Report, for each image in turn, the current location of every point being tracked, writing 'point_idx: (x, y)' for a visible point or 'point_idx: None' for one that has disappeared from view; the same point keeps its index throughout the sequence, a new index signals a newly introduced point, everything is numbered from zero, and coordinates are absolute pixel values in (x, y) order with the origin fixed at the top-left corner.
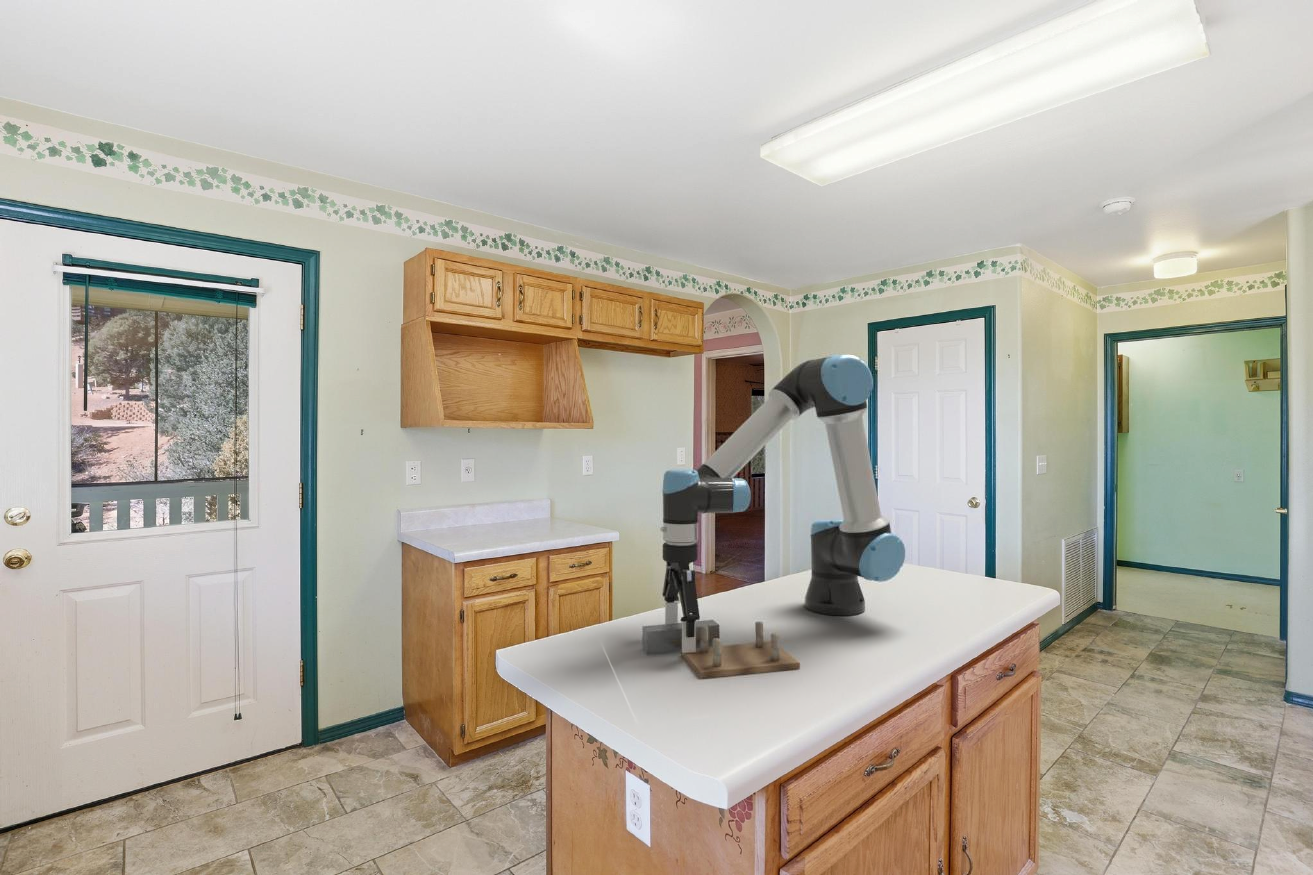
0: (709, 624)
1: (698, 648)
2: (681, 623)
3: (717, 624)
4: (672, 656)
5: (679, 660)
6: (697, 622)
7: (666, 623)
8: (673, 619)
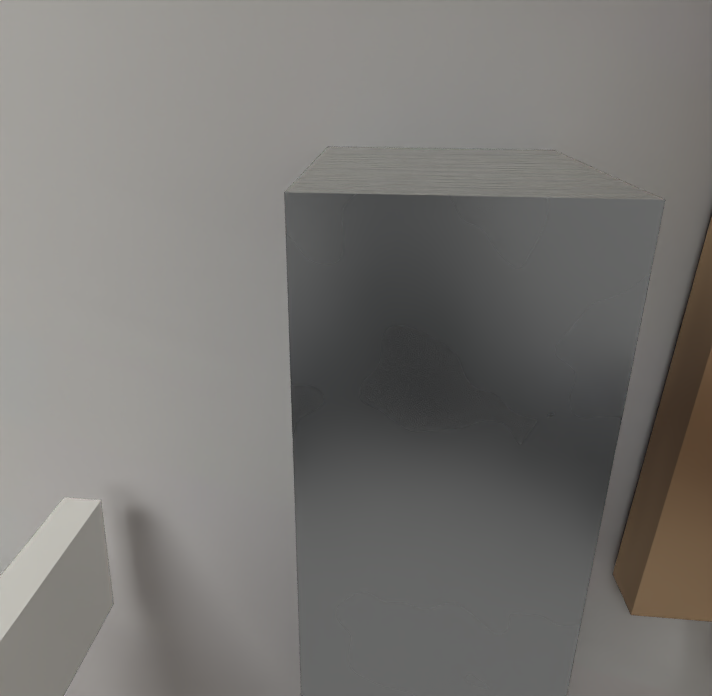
0: (551, 362)
1: (690, 481)
2: (338, 685)
3: (624, 226)
4: None
5: None
6: (367, 495)
7: (67, 678)
8: (36, 650)
